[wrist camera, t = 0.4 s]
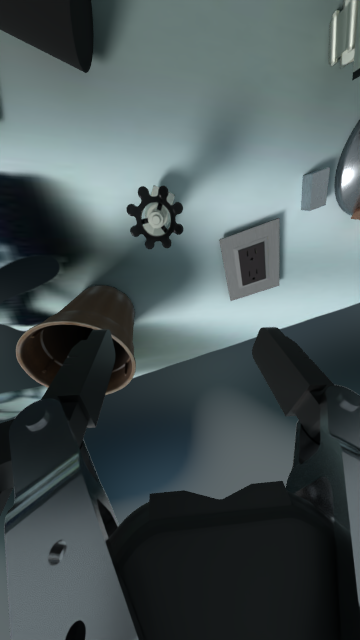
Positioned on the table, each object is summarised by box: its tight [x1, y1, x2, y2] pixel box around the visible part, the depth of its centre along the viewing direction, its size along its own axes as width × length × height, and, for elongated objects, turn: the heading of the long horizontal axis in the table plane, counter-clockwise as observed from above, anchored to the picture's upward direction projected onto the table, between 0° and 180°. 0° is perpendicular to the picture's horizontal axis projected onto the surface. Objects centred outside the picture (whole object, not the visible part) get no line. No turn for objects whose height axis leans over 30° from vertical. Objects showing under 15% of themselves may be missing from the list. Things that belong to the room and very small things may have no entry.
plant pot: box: [16, 285, 136, 395], centre depth 33 cm, size 16×16×16 cm
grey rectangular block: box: [301, 167, 330, 211], centre depth 29 cm, size 5×2×2 cm, turn 19°
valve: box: [127, 186, 183, 249], centre depth 25 cm, size 7×7×12 cm
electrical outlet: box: [219, 218, 279, 301], centre depth 35 cm, size 13×10×2 cm
